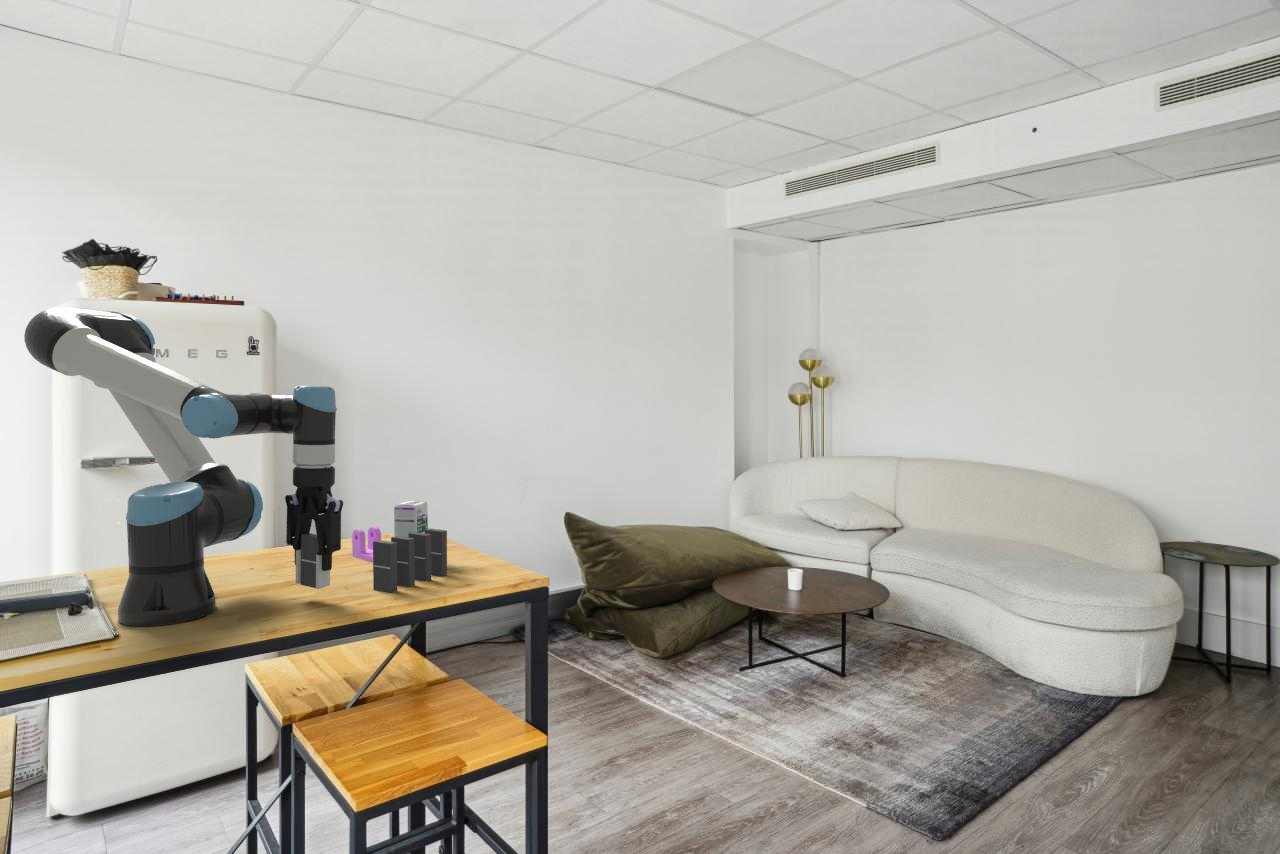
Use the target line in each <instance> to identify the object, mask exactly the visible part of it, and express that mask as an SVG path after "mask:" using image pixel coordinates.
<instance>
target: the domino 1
mask: <svg viewBox="0 0 1280 854" xmlns="http://www.w3.org/2000/svg"><path fill="white" fill-rule="evenodd" d="M325 547H326V546H325ZM317 552H319V545H318V539H317V533H311V532H310V533H305V534H301V583H300V586H303V587H309V588H313V589H317V590H319V589H323V588H324V587H322V588H316V554H317Z"/></svg>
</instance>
